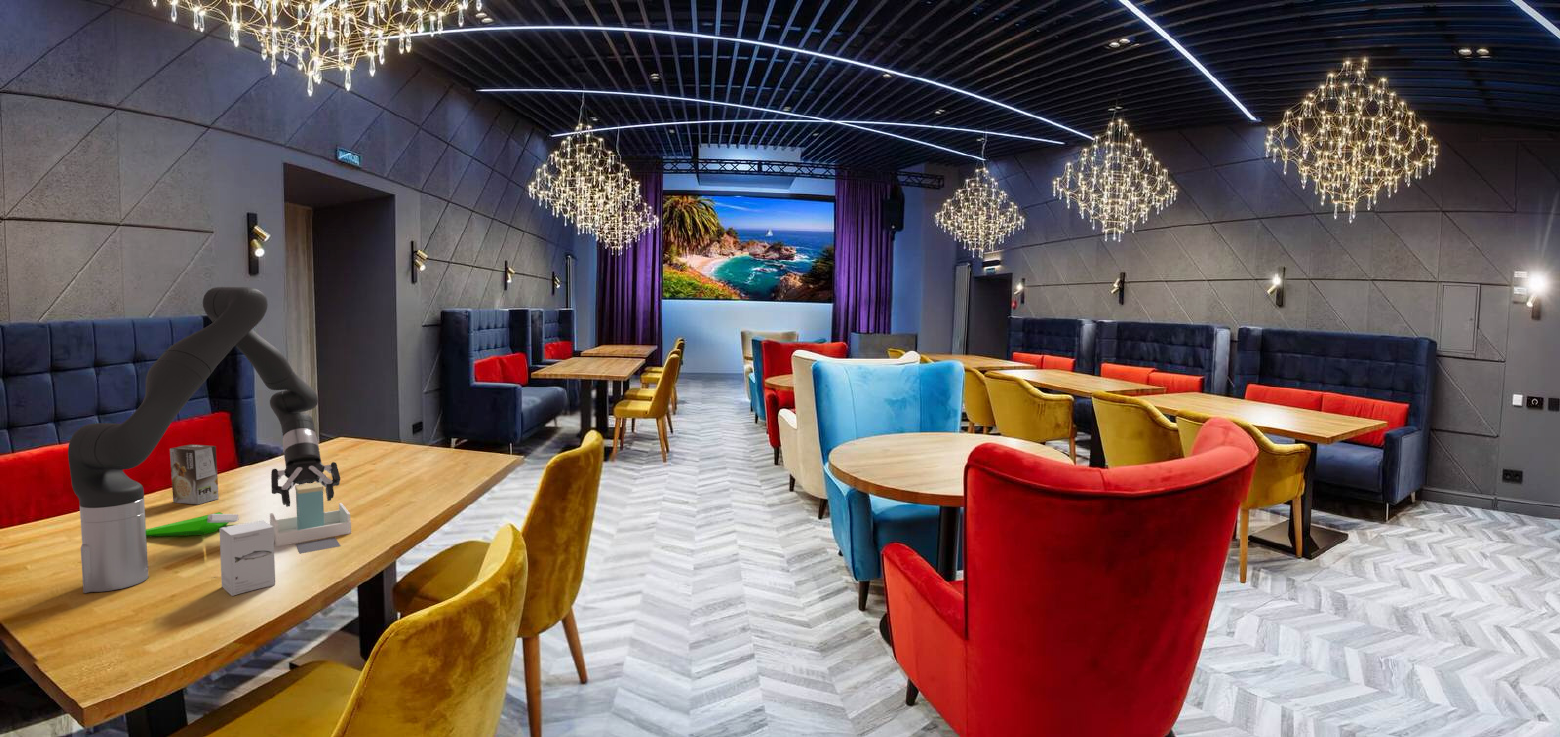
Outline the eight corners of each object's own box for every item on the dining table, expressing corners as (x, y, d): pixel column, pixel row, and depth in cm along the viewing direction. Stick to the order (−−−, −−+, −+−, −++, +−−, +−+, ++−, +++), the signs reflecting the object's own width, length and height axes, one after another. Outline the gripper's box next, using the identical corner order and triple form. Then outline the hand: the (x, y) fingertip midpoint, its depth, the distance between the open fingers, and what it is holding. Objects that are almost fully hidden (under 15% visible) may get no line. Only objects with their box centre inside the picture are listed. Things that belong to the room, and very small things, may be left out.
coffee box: (220, 498, 193) (217, 445, 192) (197, 505, 187) (195, 450, 186) (194, 496, 195) (191, 443, 193) (171, 502, 189) (168, 448, 187)
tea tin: (299, 537, 162) (297, 489, 161) (296, 531, 166) (295, 485, 165) (324, 532, 165) (323, 486, 164) (321, 527, 169) (320, 482, 168)
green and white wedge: (89, 554, 154) (211, 533, 159) (89, 531, 155) (210, 510, 160) (126, 551, 165) (239, 531, 170) (126, 530, 166) (238, 511, 171)
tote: (276, 548, 156) (275, 526, 155) (270, 534, 165) (269, 512, 165) (351, 535, 166) (350, 514, 165) (341, 522, 176) (341, 502, 175)
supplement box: (231, 597, 130) (228, 535, 129) (221, 587, 134) (218, 527, 133) (276, 585, 136) (274, 526, 134) (265, 576, 140) (262, 518, 139)
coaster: (299, 555, 151) (299, 553, 151) (295, 546, 157) (295, 543, 157) (340, 548, 157) (340, 545, 157) (334, 539, 163) (334, 536, 163)
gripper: (268, 444, 165) (274, 499, 158) (335, 438, 175) (344, 489, 168) (266, 461, 170) (273, 515, 162) (332, 454, 179) (341, 504, 172)
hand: (309, 502), depth 165 cm, fingers open, 8 cm apart
